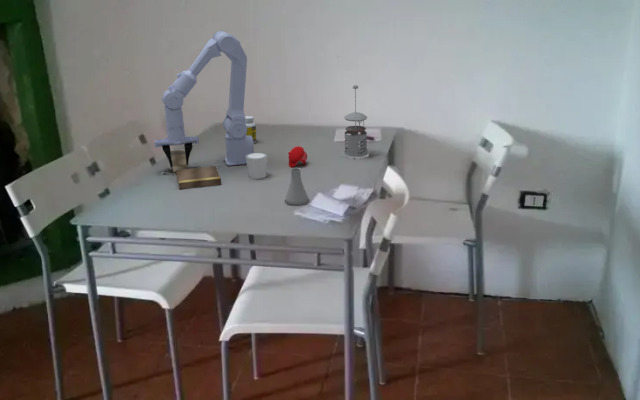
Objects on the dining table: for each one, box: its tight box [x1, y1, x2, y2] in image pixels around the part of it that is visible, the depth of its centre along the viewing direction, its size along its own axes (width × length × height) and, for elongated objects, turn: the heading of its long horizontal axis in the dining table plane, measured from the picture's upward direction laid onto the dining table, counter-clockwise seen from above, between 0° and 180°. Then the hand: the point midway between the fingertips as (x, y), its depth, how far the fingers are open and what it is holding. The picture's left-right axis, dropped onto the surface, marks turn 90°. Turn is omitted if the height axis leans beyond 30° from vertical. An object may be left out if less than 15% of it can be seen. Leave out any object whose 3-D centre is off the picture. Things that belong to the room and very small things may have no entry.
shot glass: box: [246, 152, 268, 180], centre depth 217 cm, size 7×7×7 cm
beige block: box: [170, 149, 188, 174], centre depth 225 cm, size 5×6×6 cm
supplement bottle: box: [245, 115, 257, 144], centre depth 253 cm, size 5×5×10 cm
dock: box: [175, 165, 222, 190], centre depth 215 cm, size 13×13×2 cm
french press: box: [342, 84, 369, 157], centre depth 233 cm, size 10×12×25 cm
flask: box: [284, 167, 310, 206], centre depth 195 cm, size 7×7×10 cm
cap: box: [287, 145, 308, 169], centre depth 227 cm, size 8×6×6 cm
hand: (179, 165), depth 226 cm, fingers closed on beige block, 4 cm apart
